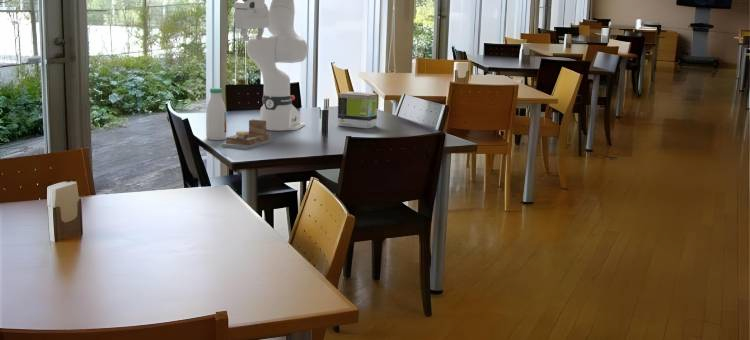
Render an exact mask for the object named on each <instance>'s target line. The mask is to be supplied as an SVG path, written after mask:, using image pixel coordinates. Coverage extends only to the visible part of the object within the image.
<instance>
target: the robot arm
mask: <svg viewBox="0 0 750 340" xmlns="http://www.w3.org/2000/svg"><path fill="white" fill-rule="evenodd" d="M233 8H234V13H233V18H234V19H233V23H234V27H235V29H236V30H237V29H238V30H240V33H241V35H242V40H243V41H244V42H247V43H246V47H245V48H246V50H245V51H246V55H247V56H248V58H249V59H250V60H251V61H252V62H254V64H256V66H257V67H258V69H259V70H260V72H261V75H262V76H261V77H262V81H263V94H262V98H261V99H262V106H261V107H260V111H259V120H263V121H266V131H297V130H299V129H301V128H303V127H305V126H306V123H305V122H303V121H301V114H300V111H299V110H298V109H297V108H296V107H295V106H294V105H293V101H295V98H296V97H295V95H293V94H292V95H291V78H290V76H289V74H287V73H286V72H284V71H283V70H281V69H279V68H278V67H277V64H278V63H280V64H282V63H283V64H296V63H303V61H305V60H306V58H307V56H308V54H309V47H308V43H307V42H306V40H305V39H304V38H302V37H300V36H299V35H298V34H297V33H296V31H295V27H294V26H295V25H294V23H295V22H294V21H295V1H294V0H271V2H270V6H269V8H268V6H267V4H266V3H265V0H236V1H234V2H233ZM249 29H250V30H252V29H257V34H255V35H256V36H253V37H250V36H249V35H248V34H249V33H248V32H249ZM265 29H267V30H268V32H269V33H270V35H264V31H265Z"/></svg>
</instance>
